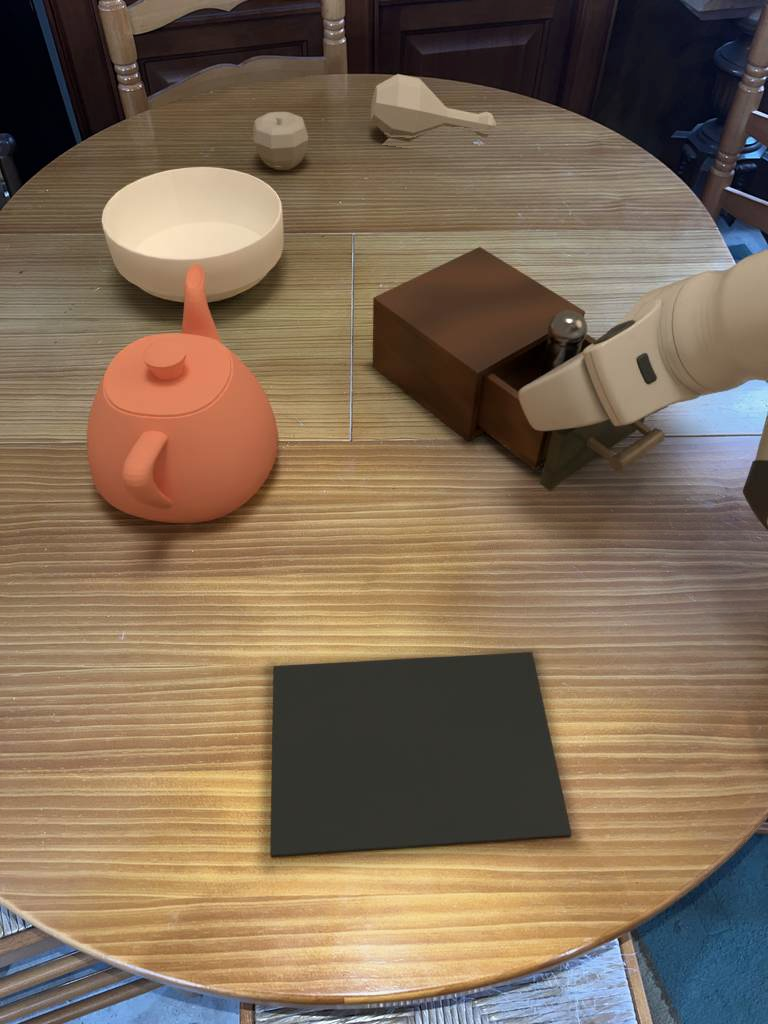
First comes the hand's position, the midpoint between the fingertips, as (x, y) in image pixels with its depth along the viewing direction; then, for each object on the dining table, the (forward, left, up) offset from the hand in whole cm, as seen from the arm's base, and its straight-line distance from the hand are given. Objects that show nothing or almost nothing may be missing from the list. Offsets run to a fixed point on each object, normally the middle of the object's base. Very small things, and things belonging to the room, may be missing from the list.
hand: (562, 374), depth 75 cm
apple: (+27, -55, -7) cm, 62 cm away
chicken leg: (+5, -63, -7) cm, 64 cm away
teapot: (+35, +2, -7) cm, 35 cm away
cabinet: (+7, -9, -7) cm, 13 cm away
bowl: (+36, -28, -7) cm, 46 cm away
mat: (+17, +32, -7) cm, 37 cm away
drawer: (-1, +1, -6) cm, 6 cm away
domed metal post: (0, 0, -5) cm, 5 cm away
